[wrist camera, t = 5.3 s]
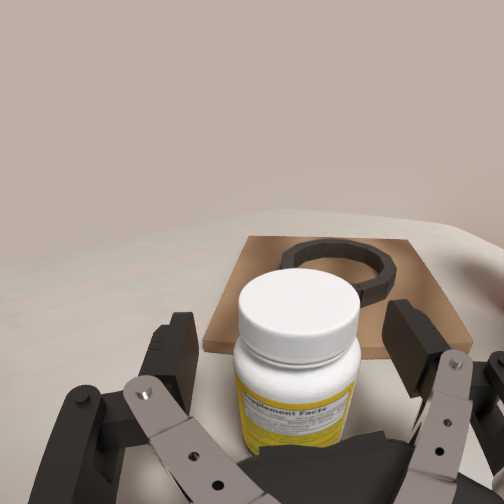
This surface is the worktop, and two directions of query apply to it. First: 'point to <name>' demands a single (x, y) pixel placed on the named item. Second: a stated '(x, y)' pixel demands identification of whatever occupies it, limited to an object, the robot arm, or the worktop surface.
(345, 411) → the supplement bottle
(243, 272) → the board
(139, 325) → the worktop surface
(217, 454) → the robot arm
